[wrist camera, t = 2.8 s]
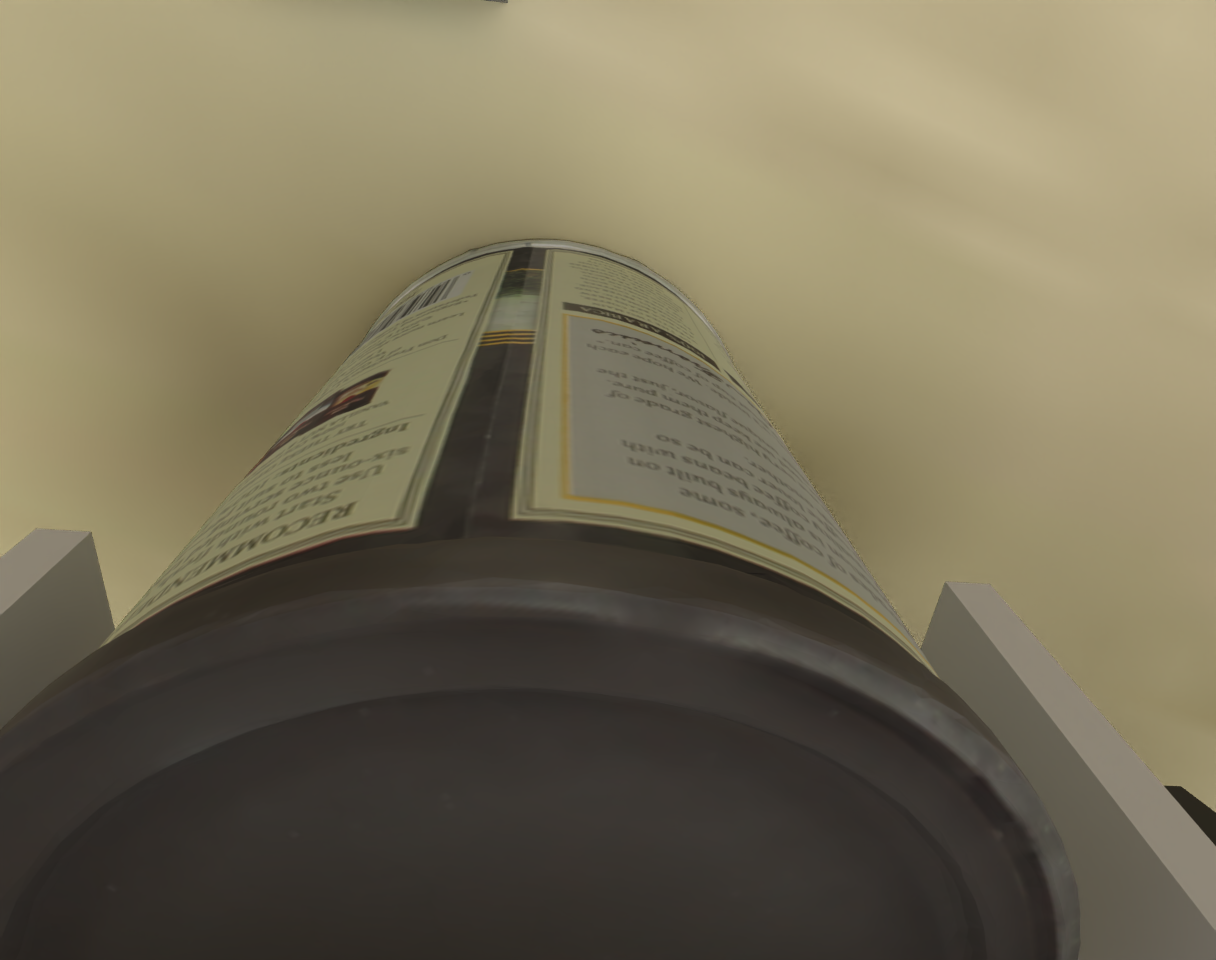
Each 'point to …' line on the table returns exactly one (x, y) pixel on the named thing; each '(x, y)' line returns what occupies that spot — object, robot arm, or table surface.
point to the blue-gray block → (499, 0)
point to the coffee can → (522, 682)
